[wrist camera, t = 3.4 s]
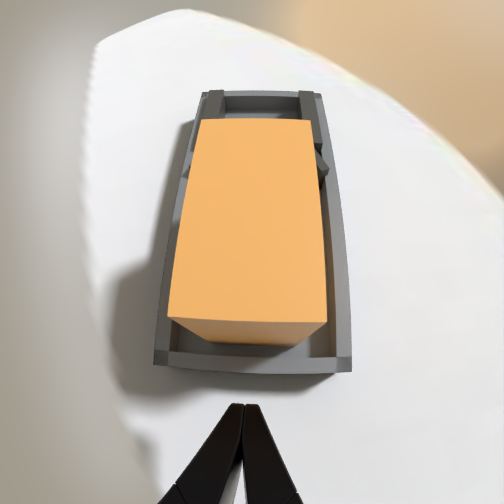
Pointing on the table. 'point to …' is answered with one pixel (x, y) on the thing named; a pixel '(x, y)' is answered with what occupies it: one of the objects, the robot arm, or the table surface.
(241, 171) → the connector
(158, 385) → the table surface
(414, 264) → the table surface
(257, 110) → the tray
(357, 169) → the table surface
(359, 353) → the table surface
